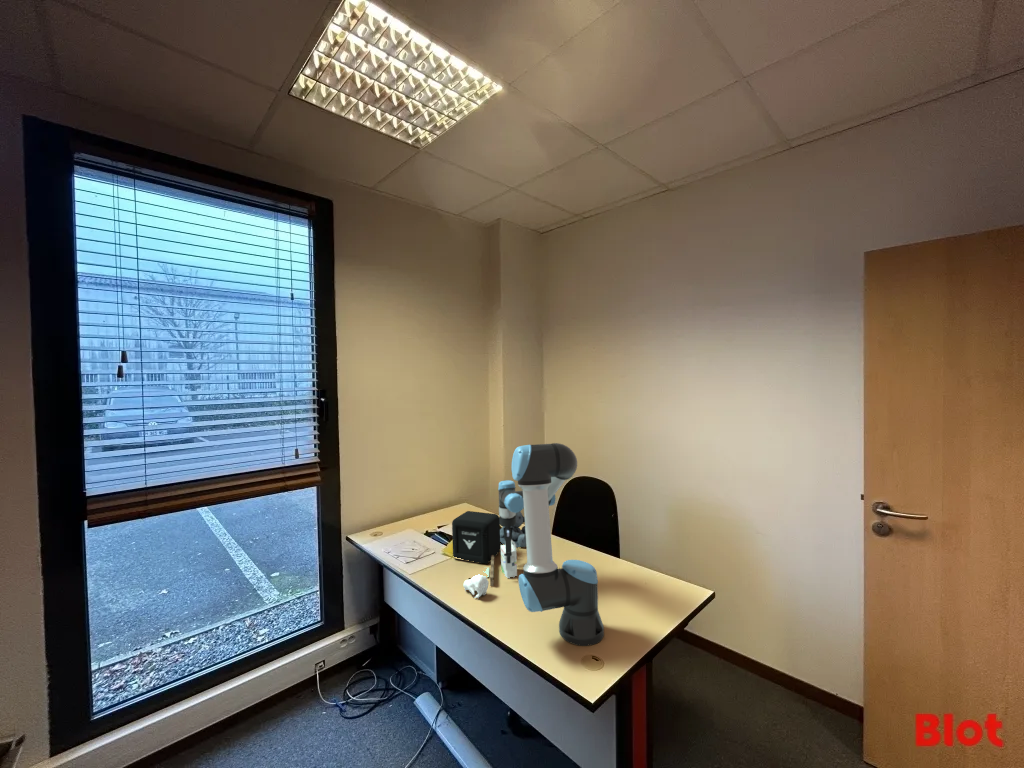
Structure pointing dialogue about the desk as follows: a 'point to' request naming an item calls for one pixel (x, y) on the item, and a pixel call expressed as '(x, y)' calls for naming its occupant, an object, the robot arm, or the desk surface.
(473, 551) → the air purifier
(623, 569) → the desk surface
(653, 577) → the desk surface
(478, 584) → the white lumpy piece
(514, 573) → the ink box
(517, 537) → the koala plush
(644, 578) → the desk surface
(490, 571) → the rail
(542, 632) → the desk surface
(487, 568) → the pad
